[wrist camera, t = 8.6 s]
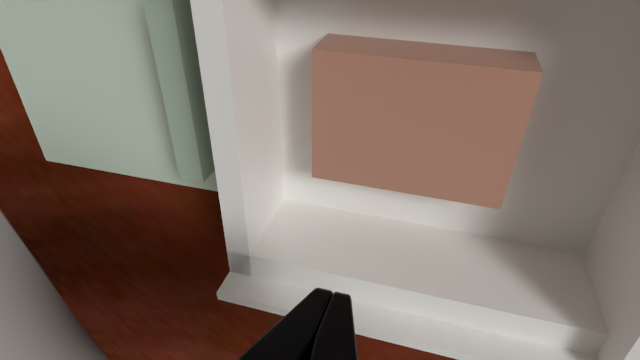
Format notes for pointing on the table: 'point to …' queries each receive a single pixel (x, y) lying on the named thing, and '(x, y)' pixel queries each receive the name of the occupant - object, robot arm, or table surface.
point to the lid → (112, 85)
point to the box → (433, 167)
